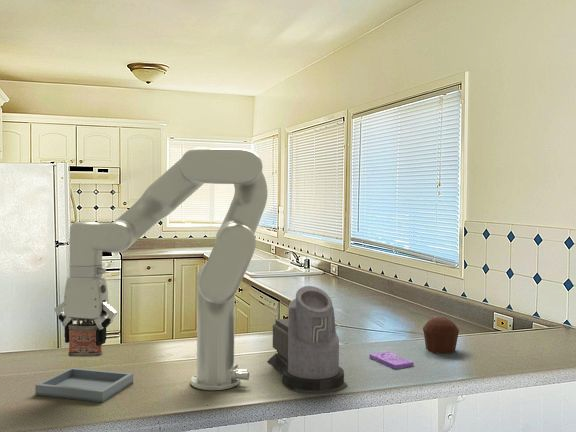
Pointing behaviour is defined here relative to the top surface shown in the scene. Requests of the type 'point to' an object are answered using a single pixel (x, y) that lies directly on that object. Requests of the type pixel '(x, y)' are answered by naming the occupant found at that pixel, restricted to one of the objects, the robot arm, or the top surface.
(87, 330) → the lighter
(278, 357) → the juicer
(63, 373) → the tray
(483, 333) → the top surface
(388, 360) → the sponges
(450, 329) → the muffin
